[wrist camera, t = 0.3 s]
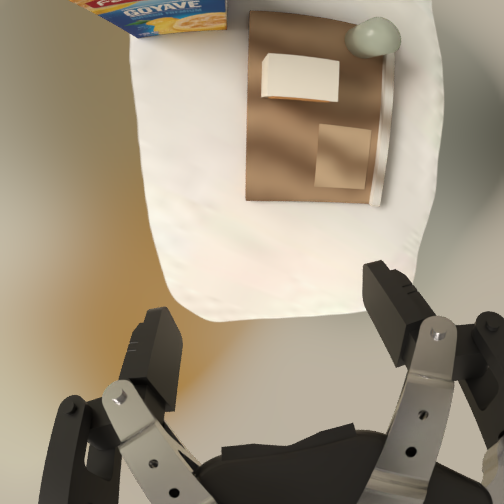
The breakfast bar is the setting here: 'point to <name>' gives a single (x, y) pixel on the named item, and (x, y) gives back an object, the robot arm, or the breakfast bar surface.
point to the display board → (317, 118)
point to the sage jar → (373, 38)
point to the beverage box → (160, 15)
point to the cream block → (300, 78)
